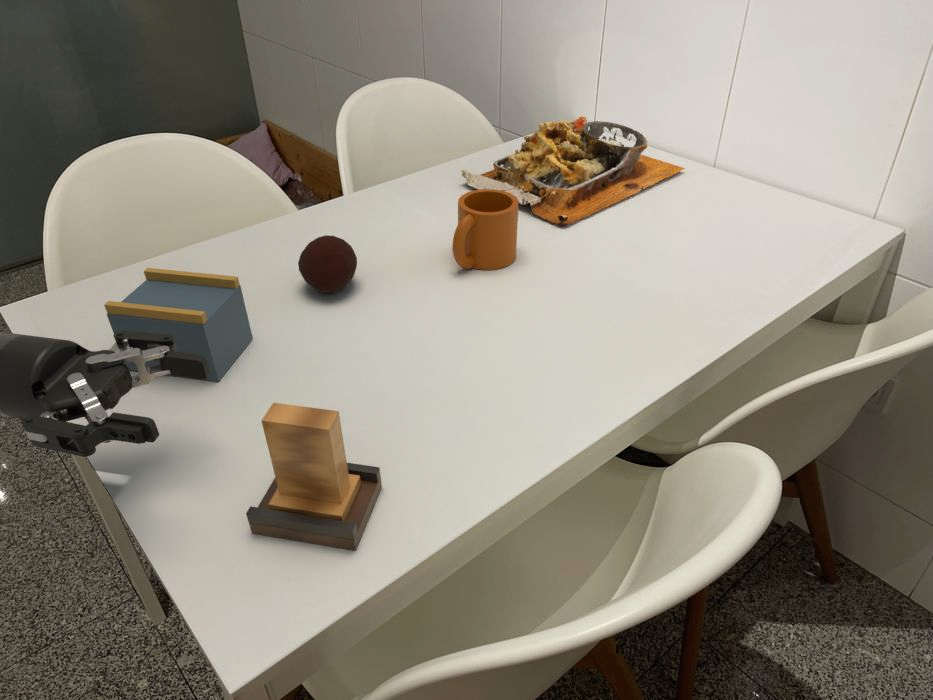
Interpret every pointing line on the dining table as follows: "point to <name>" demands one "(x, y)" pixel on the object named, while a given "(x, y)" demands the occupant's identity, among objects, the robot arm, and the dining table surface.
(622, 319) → the dining table surface
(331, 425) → the wooden pedestal block
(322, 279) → the dark maroon ball
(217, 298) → the blue railed block
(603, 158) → the food tray
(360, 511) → the brown u-shaped block
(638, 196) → the dining table surface
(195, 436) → the dining table surface
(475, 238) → the mug
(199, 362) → the robot arm
